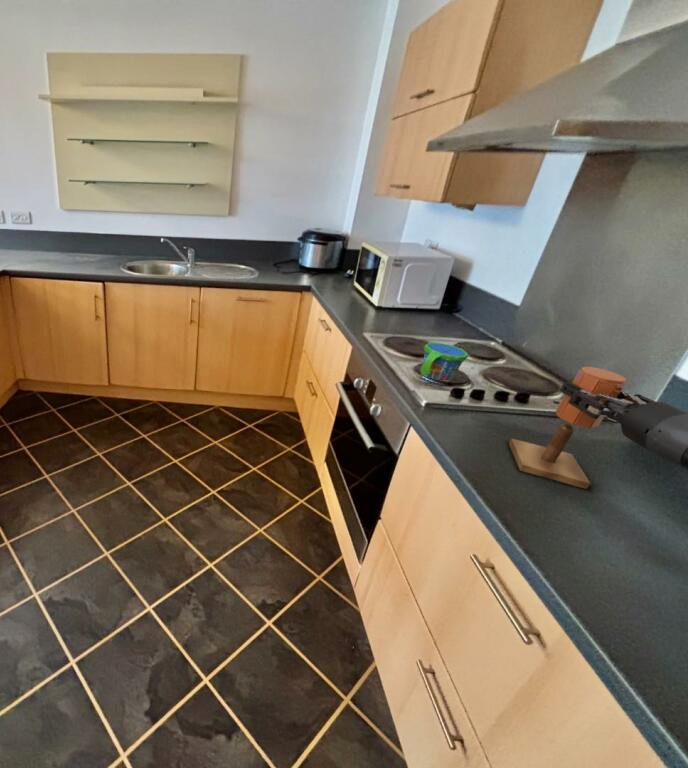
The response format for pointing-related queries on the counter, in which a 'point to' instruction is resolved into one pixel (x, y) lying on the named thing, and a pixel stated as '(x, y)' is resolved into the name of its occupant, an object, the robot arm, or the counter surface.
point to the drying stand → (550, 459)
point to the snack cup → (441, 361)
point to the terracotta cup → (594, 383)
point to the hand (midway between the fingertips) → (581, 387)
